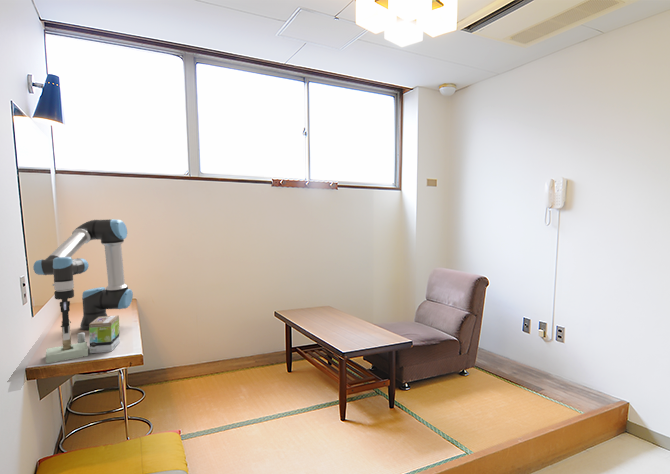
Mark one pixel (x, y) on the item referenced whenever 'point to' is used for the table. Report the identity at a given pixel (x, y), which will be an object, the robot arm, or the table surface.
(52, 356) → the hole plate
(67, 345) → the long dowel
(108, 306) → the robot arm
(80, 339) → the short rod
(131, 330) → the table surface
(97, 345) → the tea box
